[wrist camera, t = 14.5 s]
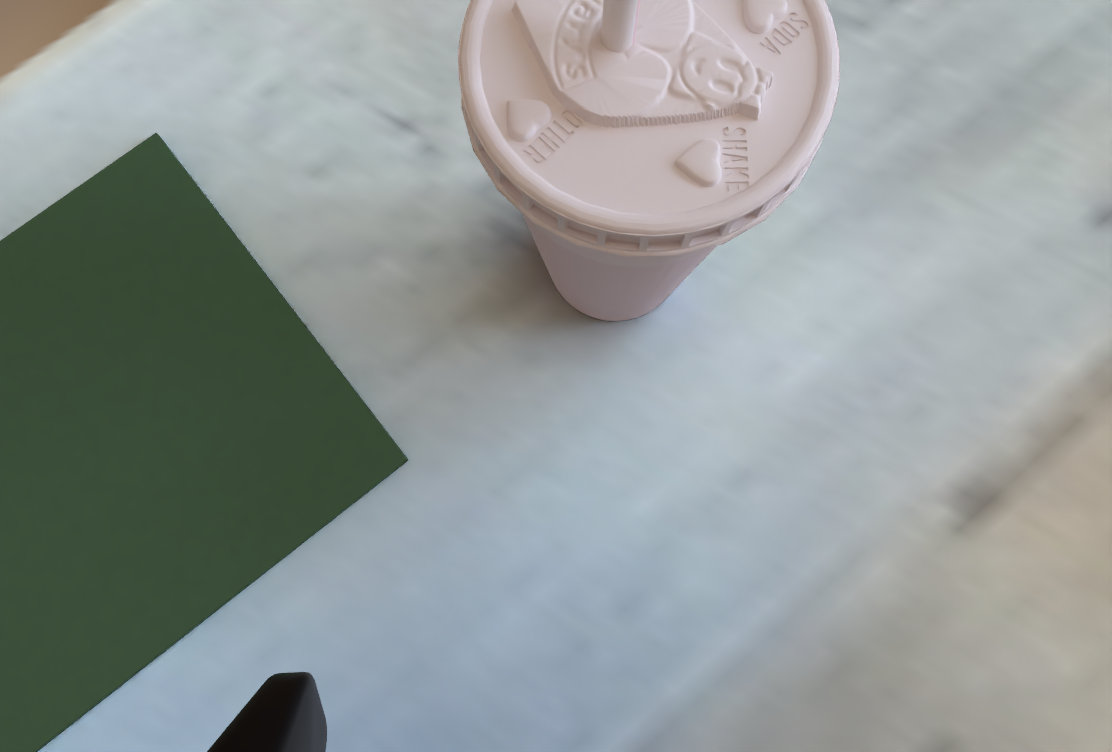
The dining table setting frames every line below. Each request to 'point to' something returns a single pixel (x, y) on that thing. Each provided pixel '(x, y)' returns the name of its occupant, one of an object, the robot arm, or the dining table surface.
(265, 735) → the robot arm
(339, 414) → the cloth
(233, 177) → the dining table surface
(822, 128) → the smoothie
